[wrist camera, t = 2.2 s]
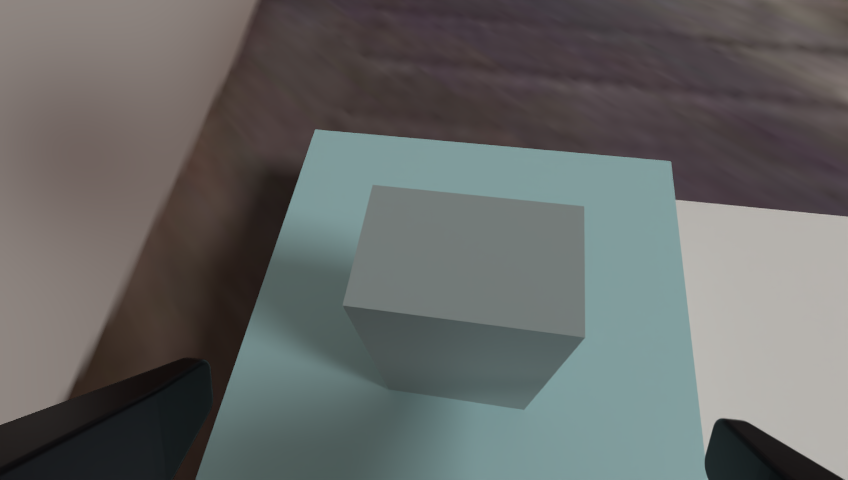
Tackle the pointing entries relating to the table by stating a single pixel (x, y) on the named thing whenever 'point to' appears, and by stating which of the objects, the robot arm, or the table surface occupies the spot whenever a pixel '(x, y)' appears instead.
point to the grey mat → (770, 323)
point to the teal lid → (467, 322)
